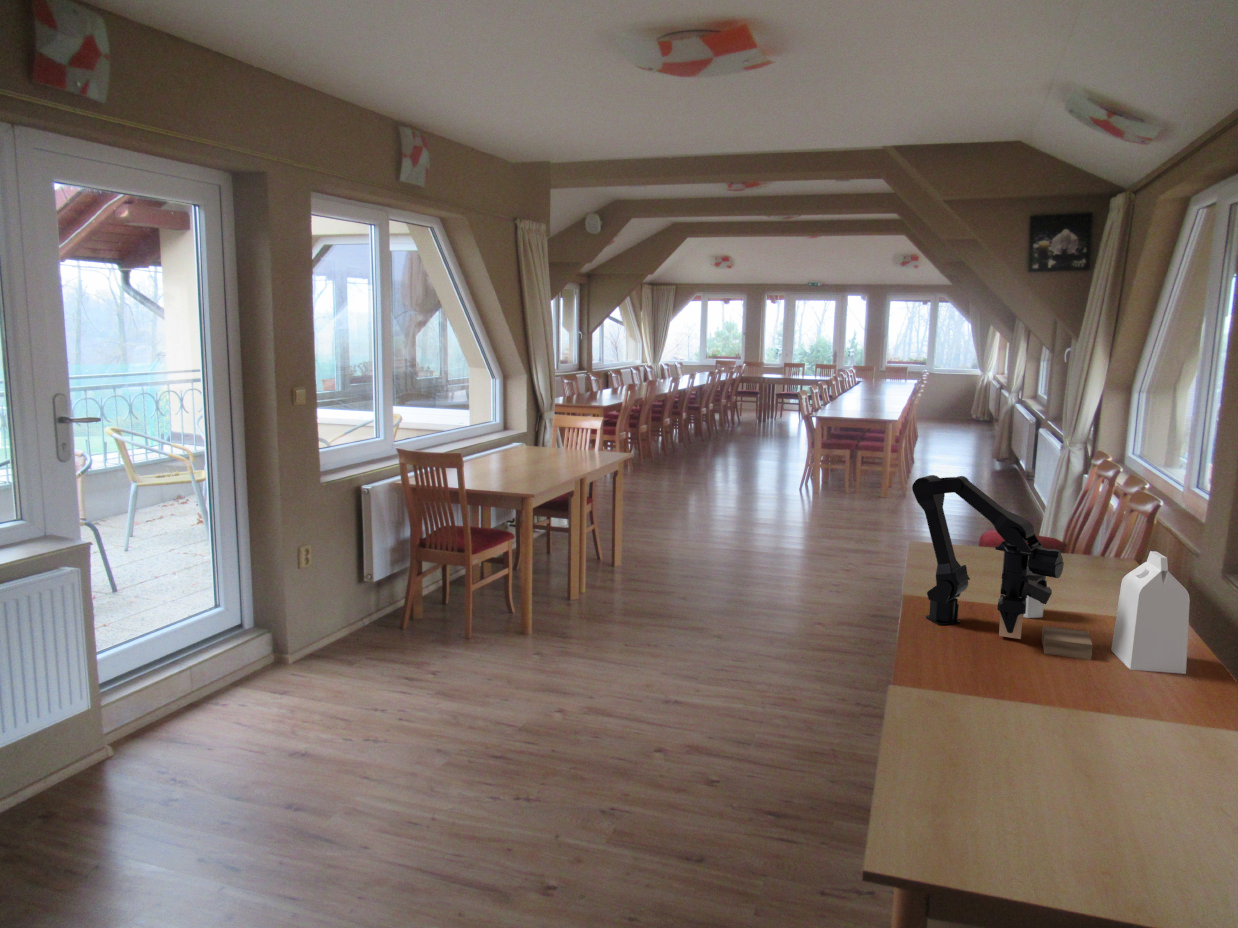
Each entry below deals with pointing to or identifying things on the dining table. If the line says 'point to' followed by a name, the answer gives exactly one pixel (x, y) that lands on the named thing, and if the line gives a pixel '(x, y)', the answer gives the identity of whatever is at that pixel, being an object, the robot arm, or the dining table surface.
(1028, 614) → the jar
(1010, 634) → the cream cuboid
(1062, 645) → the beige block
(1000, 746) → the dining table surface
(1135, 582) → the milk
